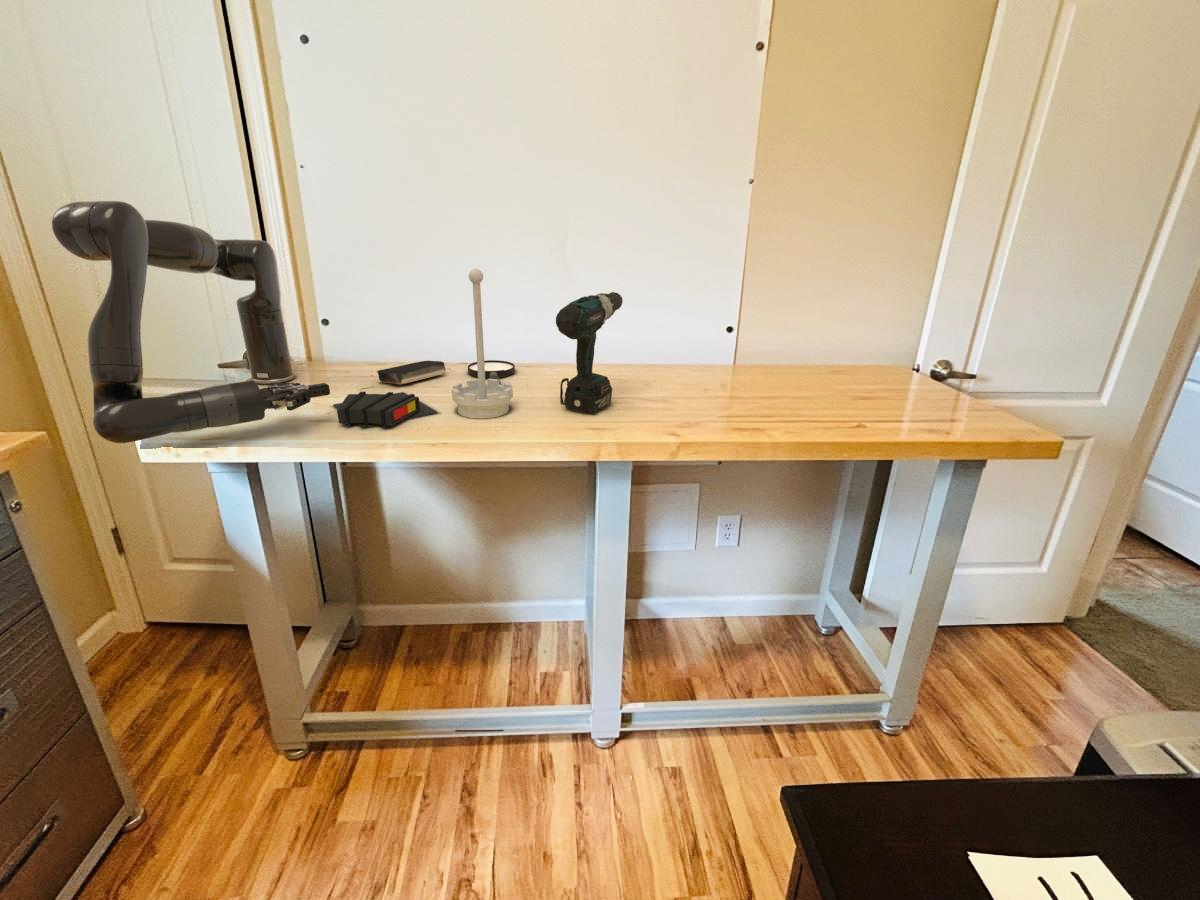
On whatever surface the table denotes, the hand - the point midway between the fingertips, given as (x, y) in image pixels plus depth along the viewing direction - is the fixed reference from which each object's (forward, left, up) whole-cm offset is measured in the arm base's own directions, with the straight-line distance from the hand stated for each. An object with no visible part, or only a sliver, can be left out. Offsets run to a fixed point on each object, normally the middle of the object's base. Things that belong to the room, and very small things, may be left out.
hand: (328, 388), depth 122 cm
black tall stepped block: (+1, +2, -5) cm, 5 cm away
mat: (-1, +11, -7) cm, 13 cm away
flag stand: (+12, +28, -7) cm, 32 cm away
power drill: (+23, +50, -7) cm, 56 cm away
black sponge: (-20, +26, -7) cm, 34 cm away
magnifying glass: (-9, +43, -7) cm, 45 cm away
